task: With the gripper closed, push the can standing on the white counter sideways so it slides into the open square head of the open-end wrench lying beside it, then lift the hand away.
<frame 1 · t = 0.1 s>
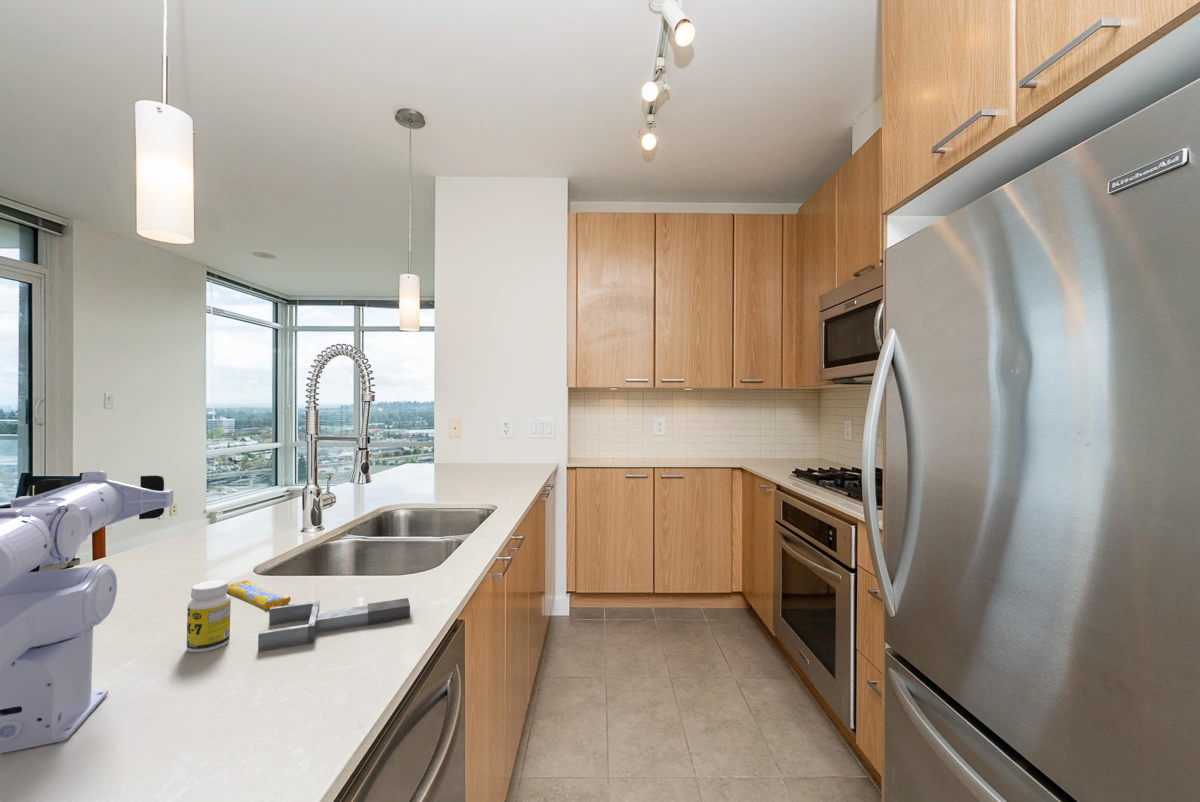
hand: (124, 488, 70), 22 cm above the countertop, tool horizontal, fingers open, 7 cm apart
candy bar: (256, 601, 88), on the countertop
supplement bottle: (208, 647, 70), on the countertop
open-end wrench: (284, 633, 74), on the countertop
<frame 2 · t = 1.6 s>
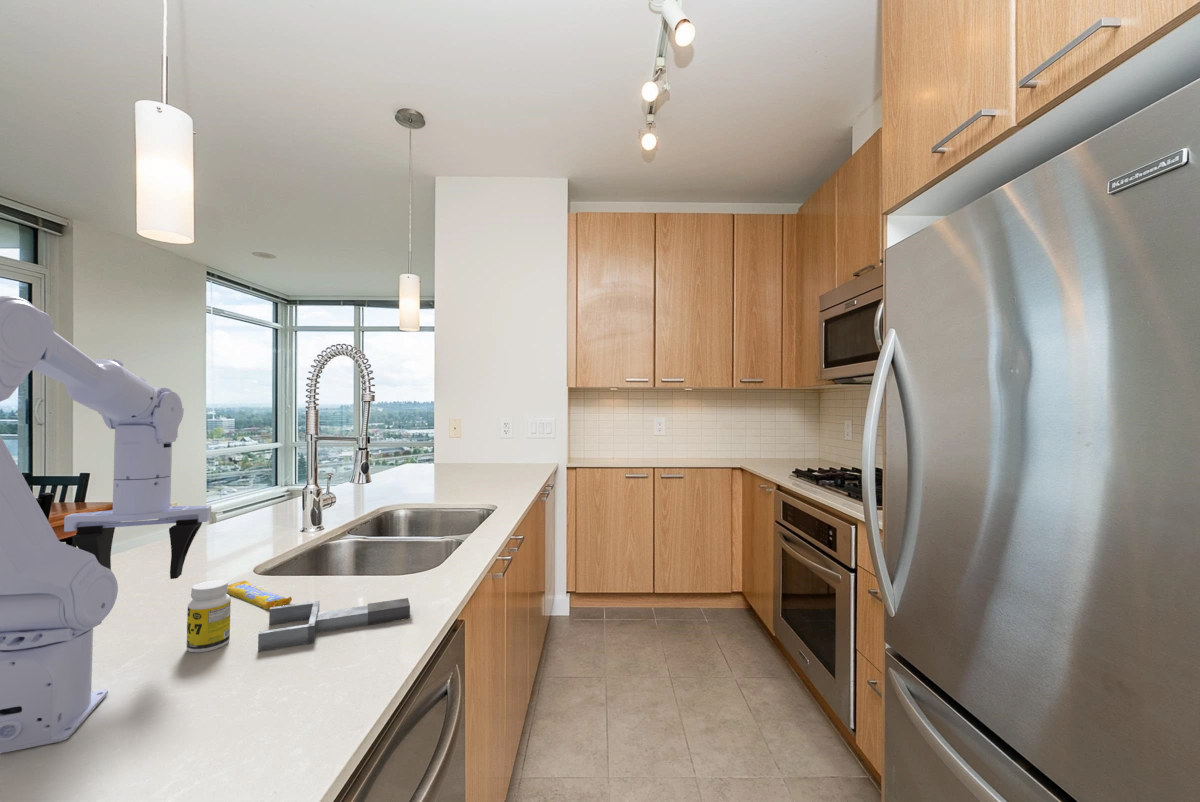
hand: (140, 580, 67), 10 cm above the countertop, tool pointing down, fingers open, 7 cm apart
nothing on the countertop moved.
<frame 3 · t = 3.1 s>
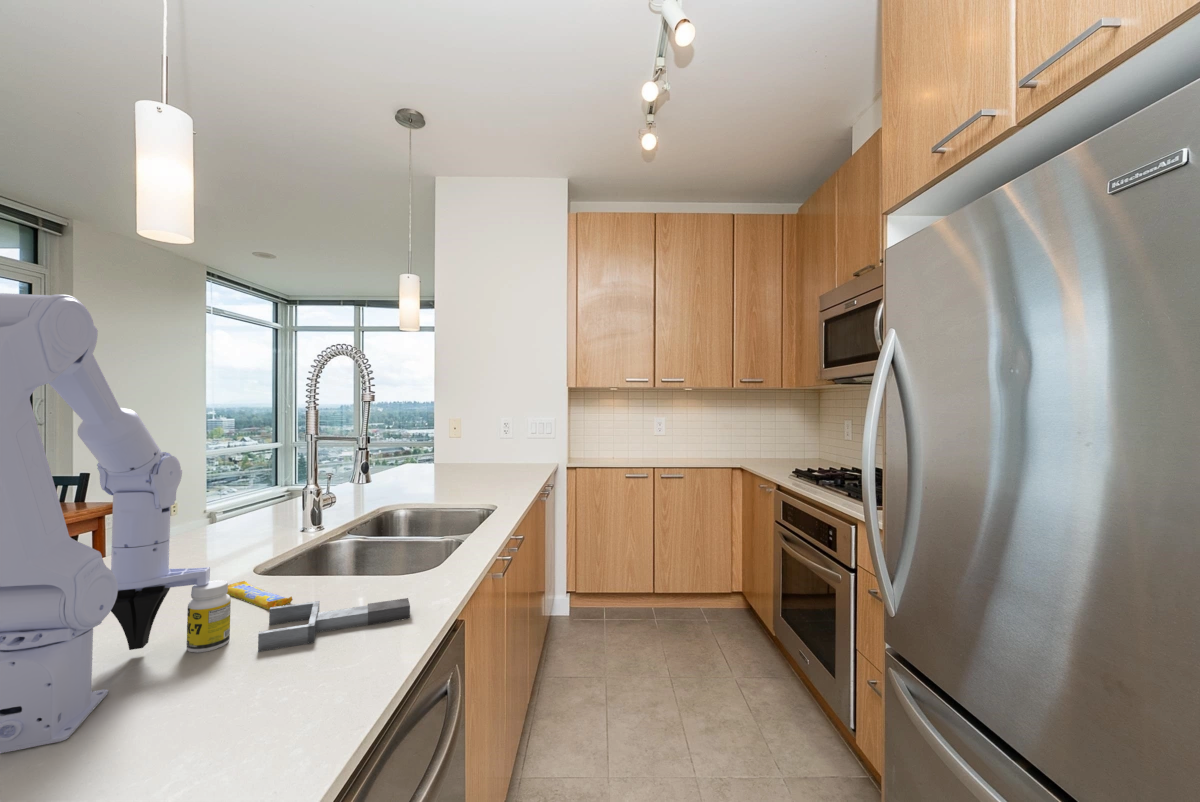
hand: (138, 646, 67), 1 cm above the countertop, tool pointing down, fingers closed
nothing on the countertop moved.
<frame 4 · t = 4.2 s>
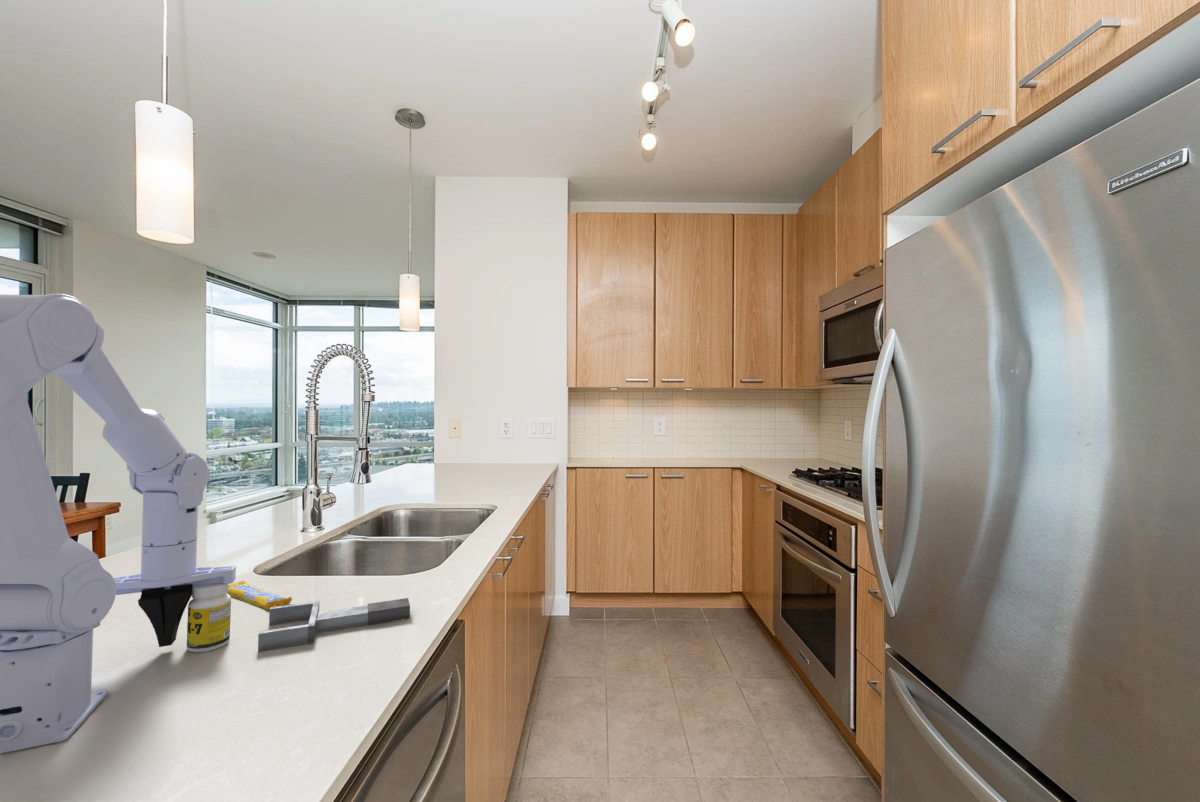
hand: (167, 643, 68), 1 cm above the countertop, tool pointing down, fingers closed
supplement bottle: (208, 646, 70), on the countertop, touching gripper
everything else where it was.
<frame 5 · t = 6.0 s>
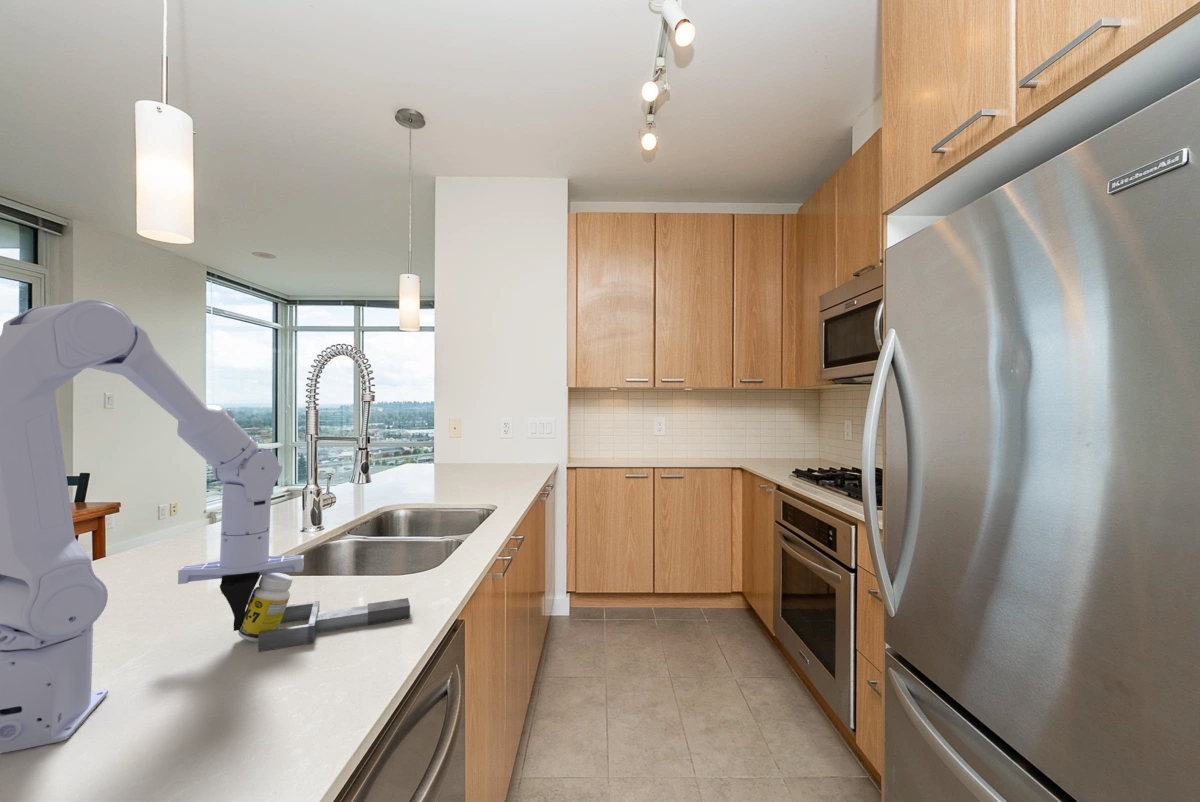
hand: (242, 627, 72), 2 cm above the countertop, tool pointing down, fingers closed, pressing on supplement bottle
supplement bottle: (256, 636, 72), on the countertop, touching gripper
everything else where it was.
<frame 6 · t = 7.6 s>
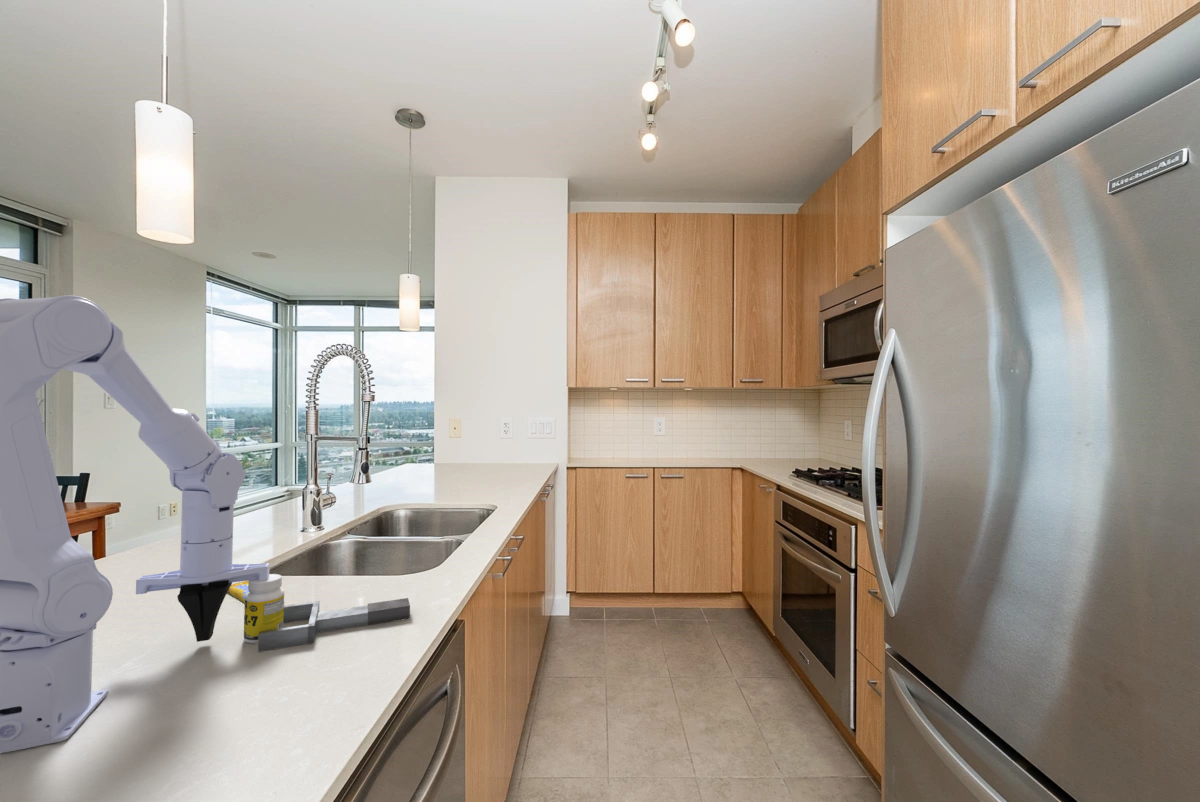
hand: (204, 638, 70), 1 cm above the countertop, tool pointing down, fingers closed
supplement bottle: (263, 638, 73), on the countertop
everything else where it was.
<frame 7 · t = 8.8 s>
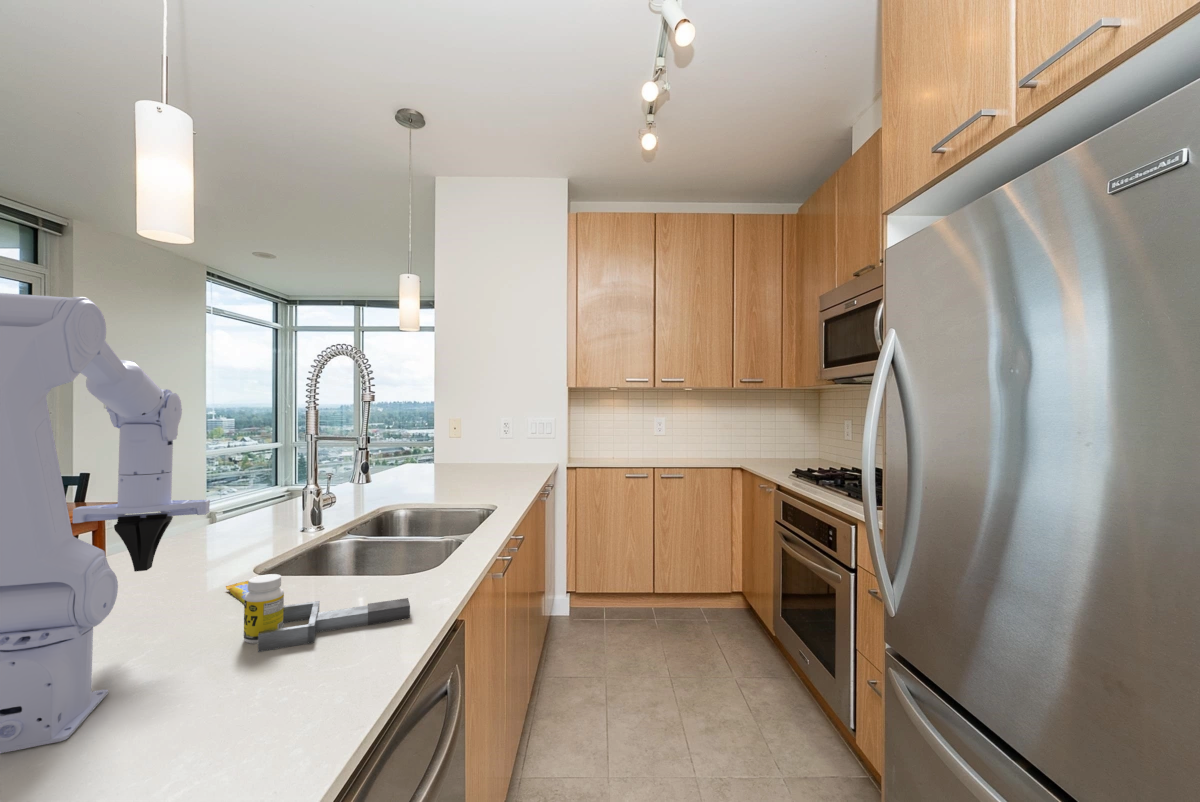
hand: (143, 569, 72), 10 cm above the countertop, tool pointing down, fingers closed
nothing on the countertop moved.
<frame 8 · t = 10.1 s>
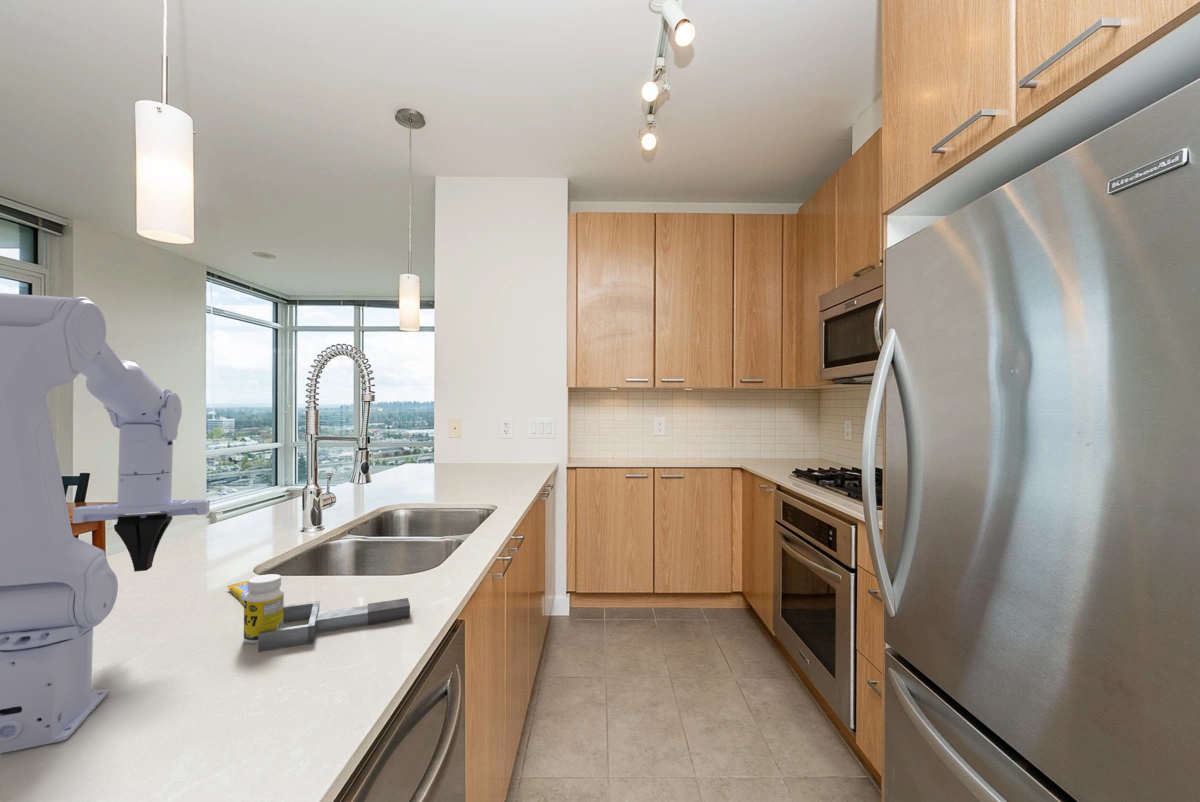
hand: (143, 569, 72), 10 cm above the countertop, tool pointing down, fingers closed
at the end: supplement bottle 2.6 cm from the open-end wrench (horizontally); supplement bottle tilted 0°; supplement bottle moved 6.4 cm from its start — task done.
